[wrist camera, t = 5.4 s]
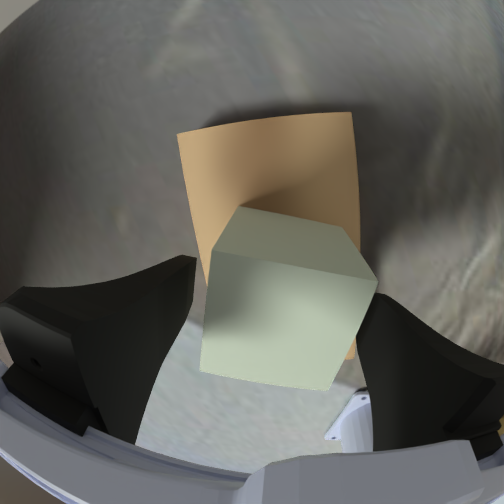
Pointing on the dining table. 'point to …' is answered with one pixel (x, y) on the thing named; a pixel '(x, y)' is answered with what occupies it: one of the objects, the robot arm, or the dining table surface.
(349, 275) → the sage block
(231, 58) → the dining table surface
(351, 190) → the tan block
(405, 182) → the dining table surface
